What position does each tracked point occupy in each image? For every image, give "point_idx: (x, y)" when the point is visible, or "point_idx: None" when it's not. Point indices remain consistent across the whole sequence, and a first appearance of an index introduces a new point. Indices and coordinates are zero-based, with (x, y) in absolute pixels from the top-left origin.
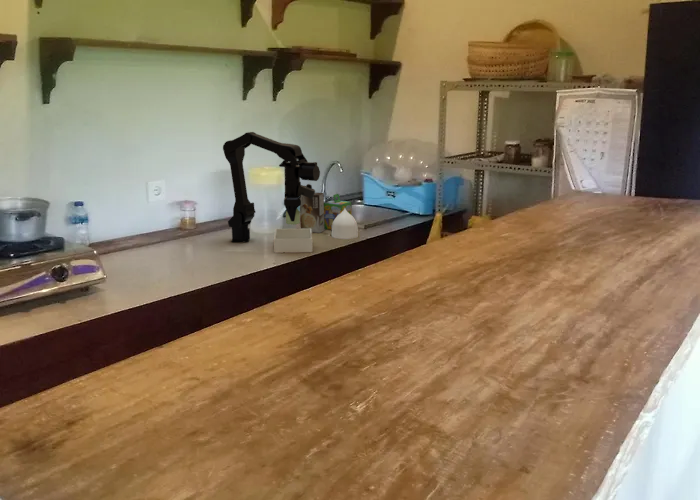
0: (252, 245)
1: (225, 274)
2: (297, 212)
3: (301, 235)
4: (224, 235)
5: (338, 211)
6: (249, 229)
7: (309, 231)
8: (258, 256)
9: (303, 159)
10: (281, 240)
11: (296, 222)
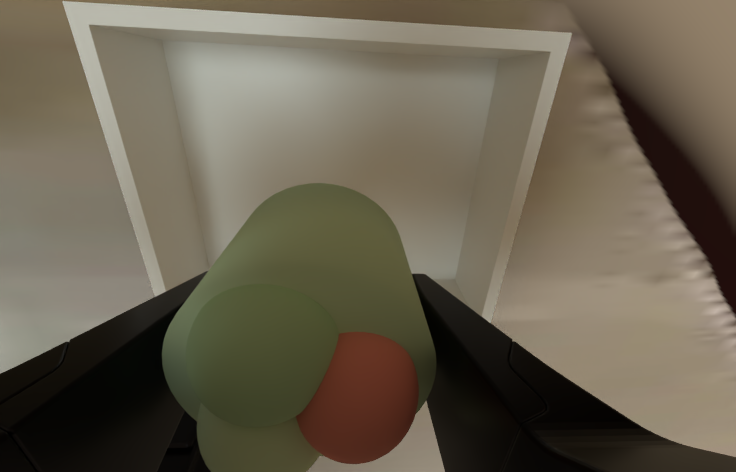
0: None
1: (708, 415)
2: (389, 306)
3: (157, 120)
4: None
5: None
6: (178, 442)
7: (110, 33)
8: None
9: None
10: (495, 288)
11: (396, 234)
